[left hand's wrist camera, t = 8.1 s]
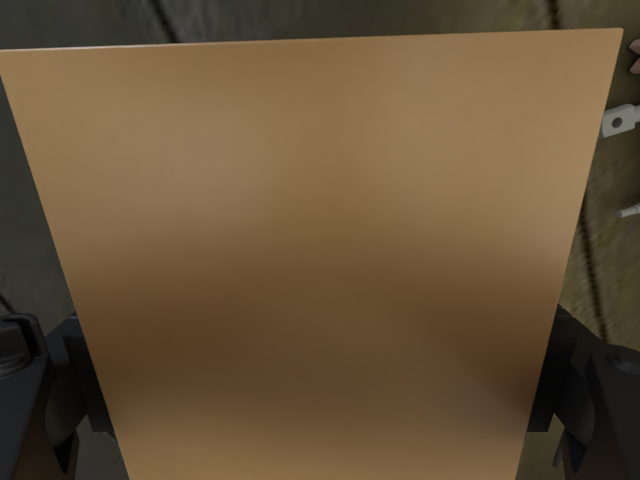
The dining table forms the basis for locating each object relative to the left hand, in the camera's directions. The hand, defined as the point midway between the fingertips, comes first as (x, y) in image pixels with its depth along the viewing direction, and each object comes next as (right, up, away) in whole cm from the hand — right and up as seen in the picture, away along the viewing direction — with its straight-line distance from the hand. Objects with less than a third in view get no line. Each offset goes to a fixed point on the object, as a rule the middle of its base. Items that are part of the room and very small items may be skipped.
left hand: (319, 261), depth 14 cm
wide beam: (+1, -25, +10) cm, 27 cm away
